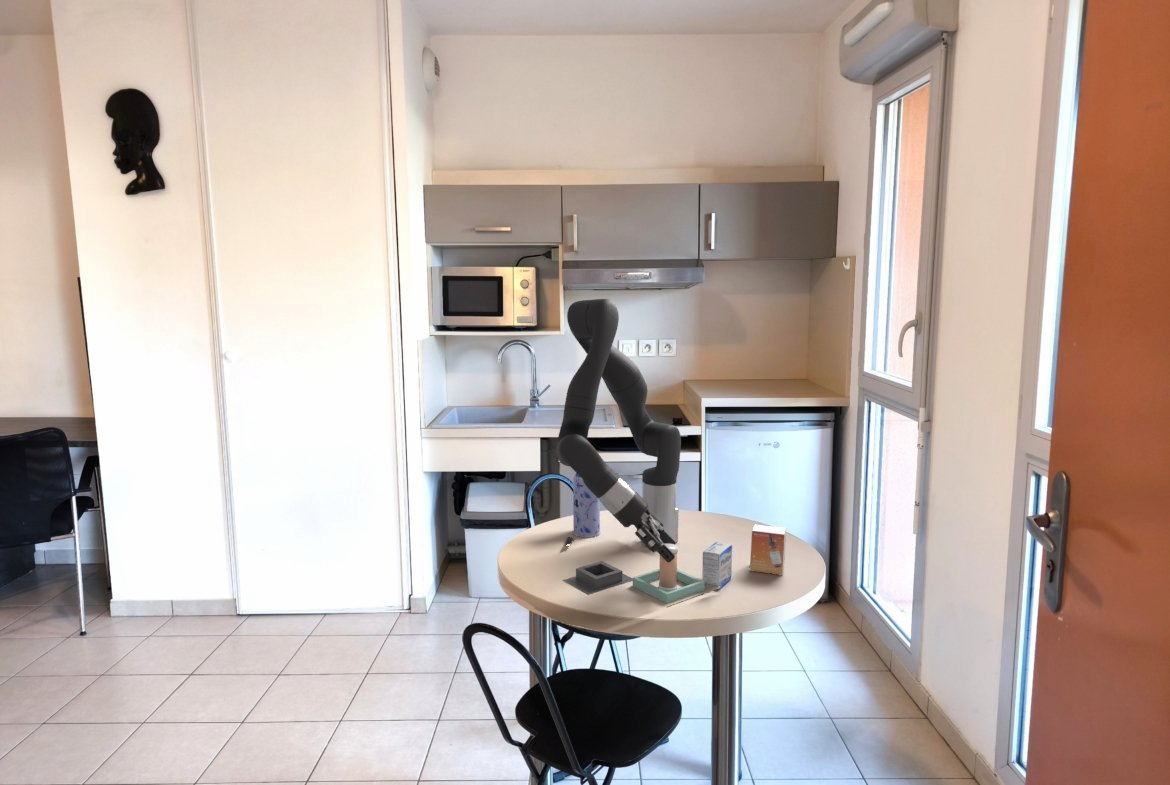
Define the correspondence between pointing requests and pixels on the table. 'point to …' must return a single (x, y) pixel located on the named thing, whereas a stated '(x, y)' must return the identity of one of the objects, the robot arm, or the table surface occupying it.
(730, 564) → the medicine box
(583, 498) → the aerosol can
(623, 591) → the table surface
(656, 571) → the parts tray
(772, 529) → the small box
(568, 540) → the claw hammer
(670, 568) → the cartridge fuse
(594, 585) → the grey square socket stand
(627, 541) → the table surface
